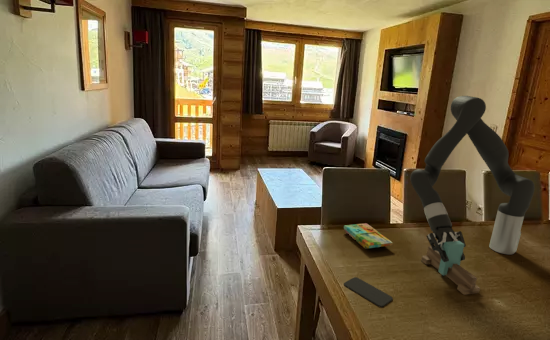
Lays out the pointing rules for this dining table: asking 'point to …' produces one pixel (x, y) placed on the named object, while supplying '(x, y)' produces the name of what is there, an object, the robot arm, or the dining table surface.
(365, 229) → the puzzle game
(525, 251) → the dining table surface
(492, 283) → the dining table surface
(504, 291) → the dining table surface
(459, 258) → the slotted tab
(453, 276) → the slotted rail
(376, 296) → the phone
